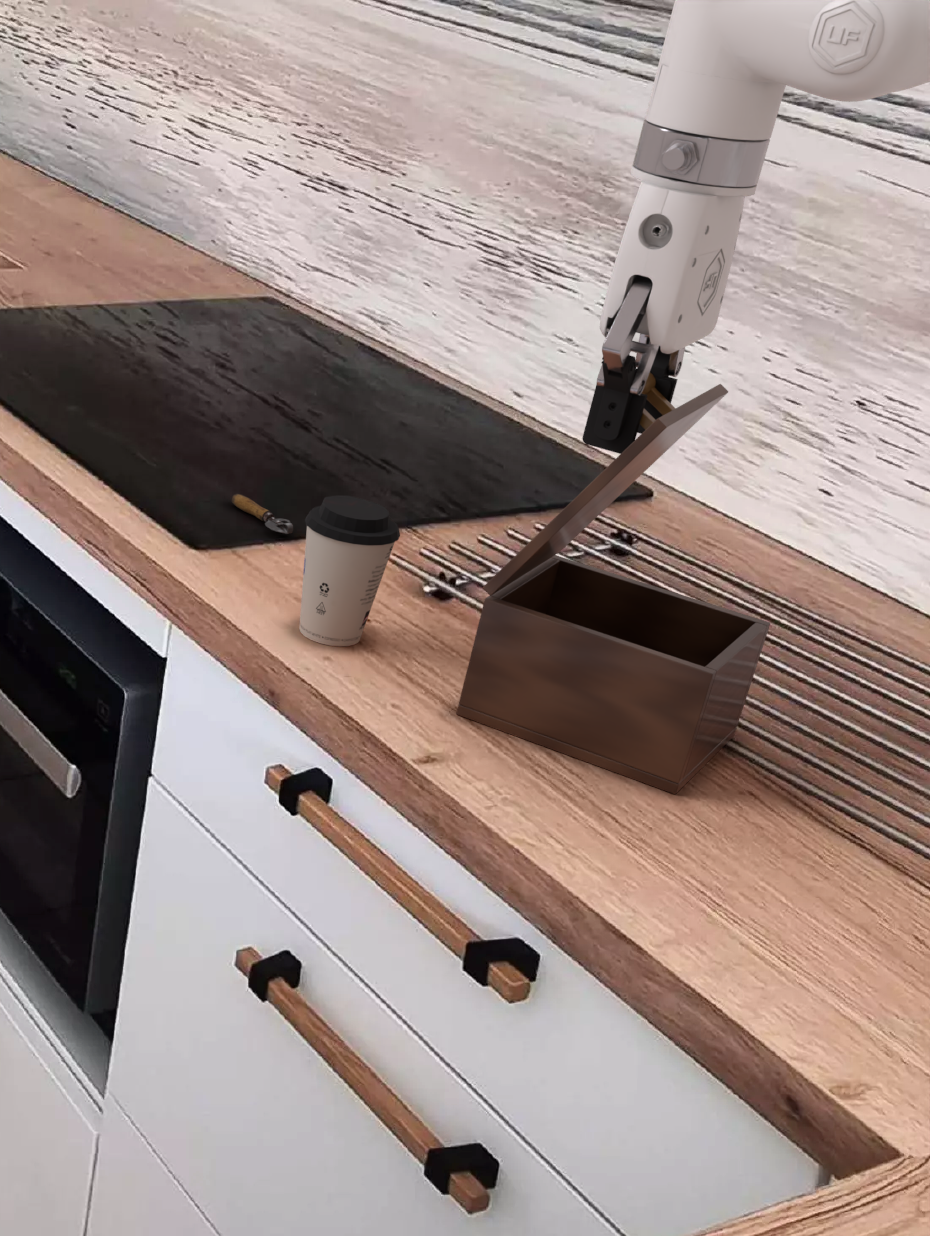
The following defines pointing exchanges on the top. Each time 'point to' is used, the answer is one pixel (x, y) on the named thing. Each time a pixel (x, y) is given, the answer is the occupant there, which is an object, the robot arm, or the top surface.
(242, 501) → the can opener
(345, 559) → the coffee cup
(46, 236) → the top surface
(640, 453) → the caddy lid
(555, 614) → the box
